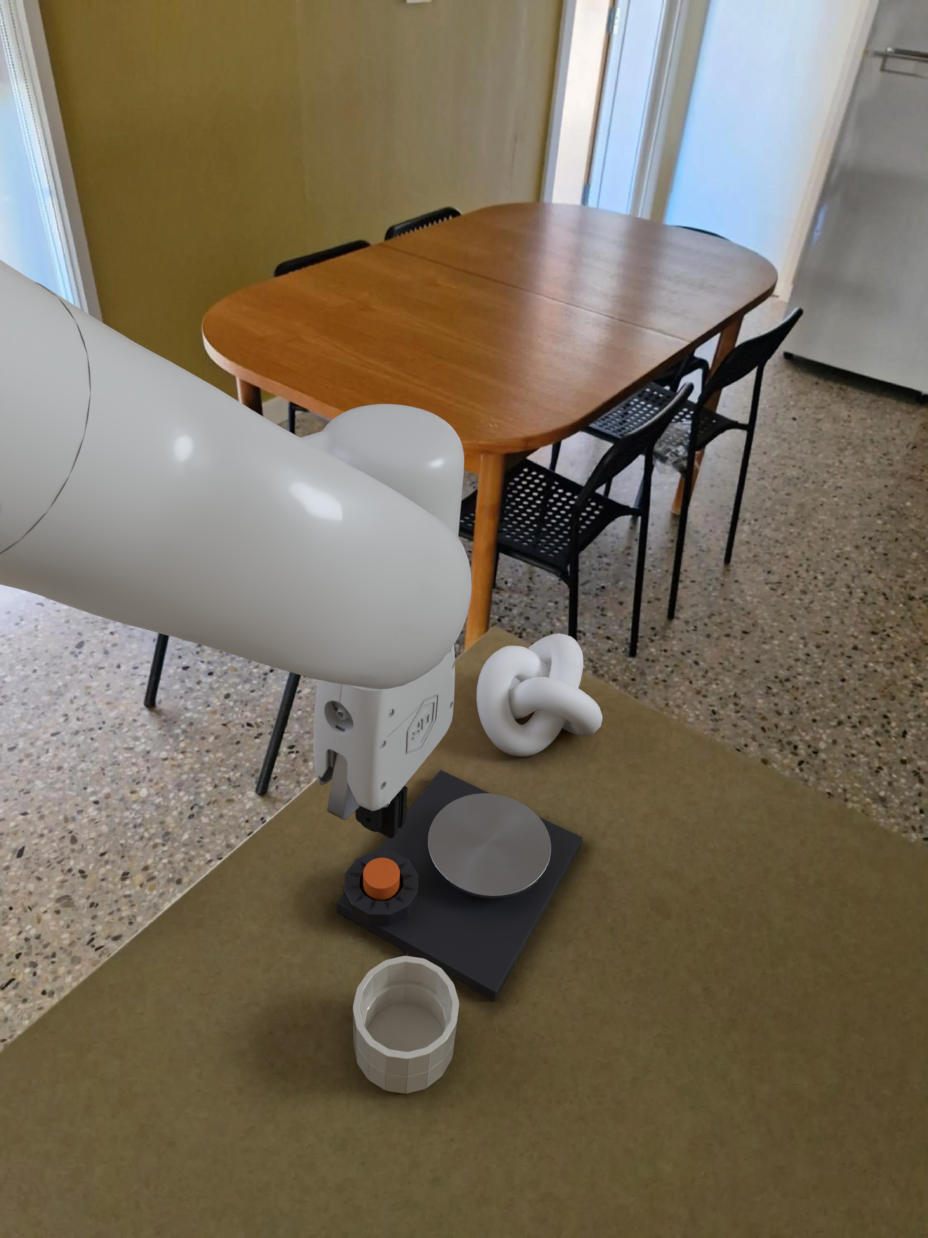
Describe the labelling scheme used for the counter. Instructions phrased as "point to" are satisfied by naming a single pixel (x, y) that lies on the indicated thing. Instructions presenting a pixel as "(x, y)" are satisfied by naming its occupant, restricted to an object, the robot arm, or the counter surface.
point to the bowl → (405, 1024)
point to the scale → (452, 900)
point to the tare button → (381, 878)
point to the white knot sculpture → (535, 695)
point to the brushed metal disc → (489, 845)
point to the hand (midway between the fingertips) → (380, 822)
